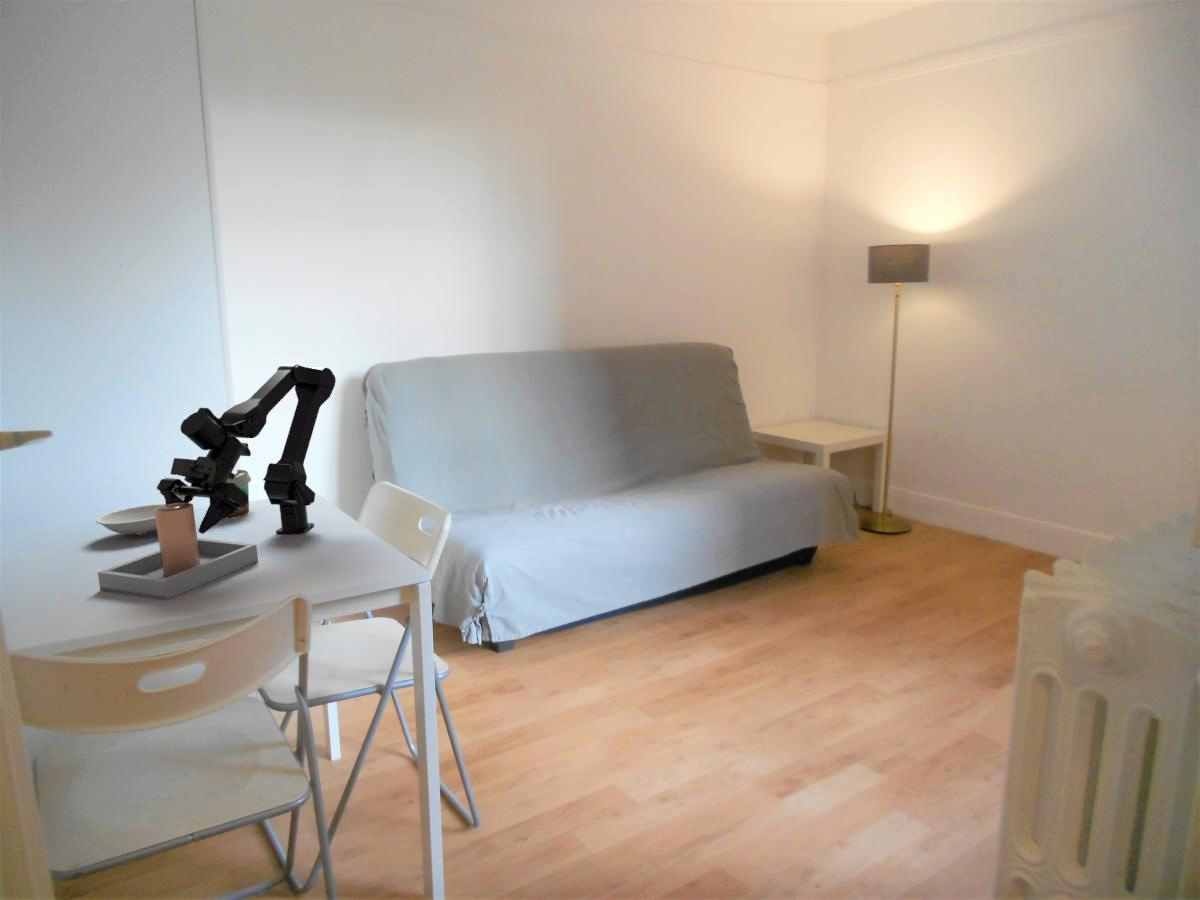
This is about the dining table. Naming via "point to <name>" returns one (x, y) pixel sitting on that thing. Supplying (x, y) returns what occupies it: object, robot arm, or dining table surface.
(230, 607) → the dining table surface
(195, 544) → the cup
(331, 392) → the robot arm
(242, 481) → the food container
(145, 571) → the tray
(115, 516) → the dish
